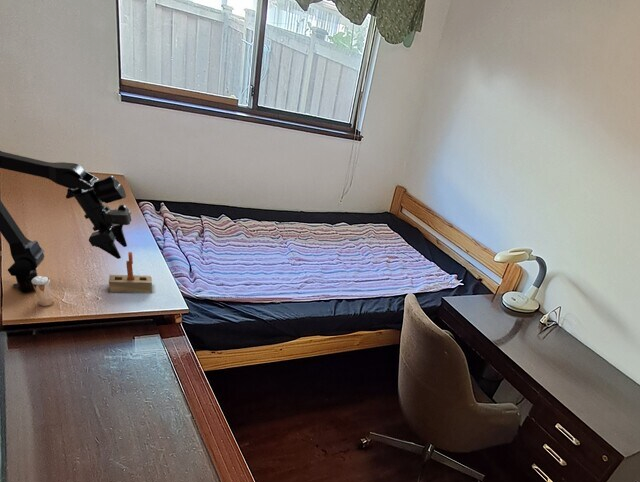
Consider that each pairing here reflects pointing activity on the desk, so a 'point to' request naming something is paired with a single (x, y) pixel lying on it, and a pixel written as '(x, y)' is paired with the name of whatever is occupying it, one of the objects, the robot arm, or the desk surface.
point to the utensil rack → (130, 284)
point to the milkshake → (42, 290)
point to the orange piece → (130, 266)
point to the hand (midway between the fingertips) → (122, 252)
